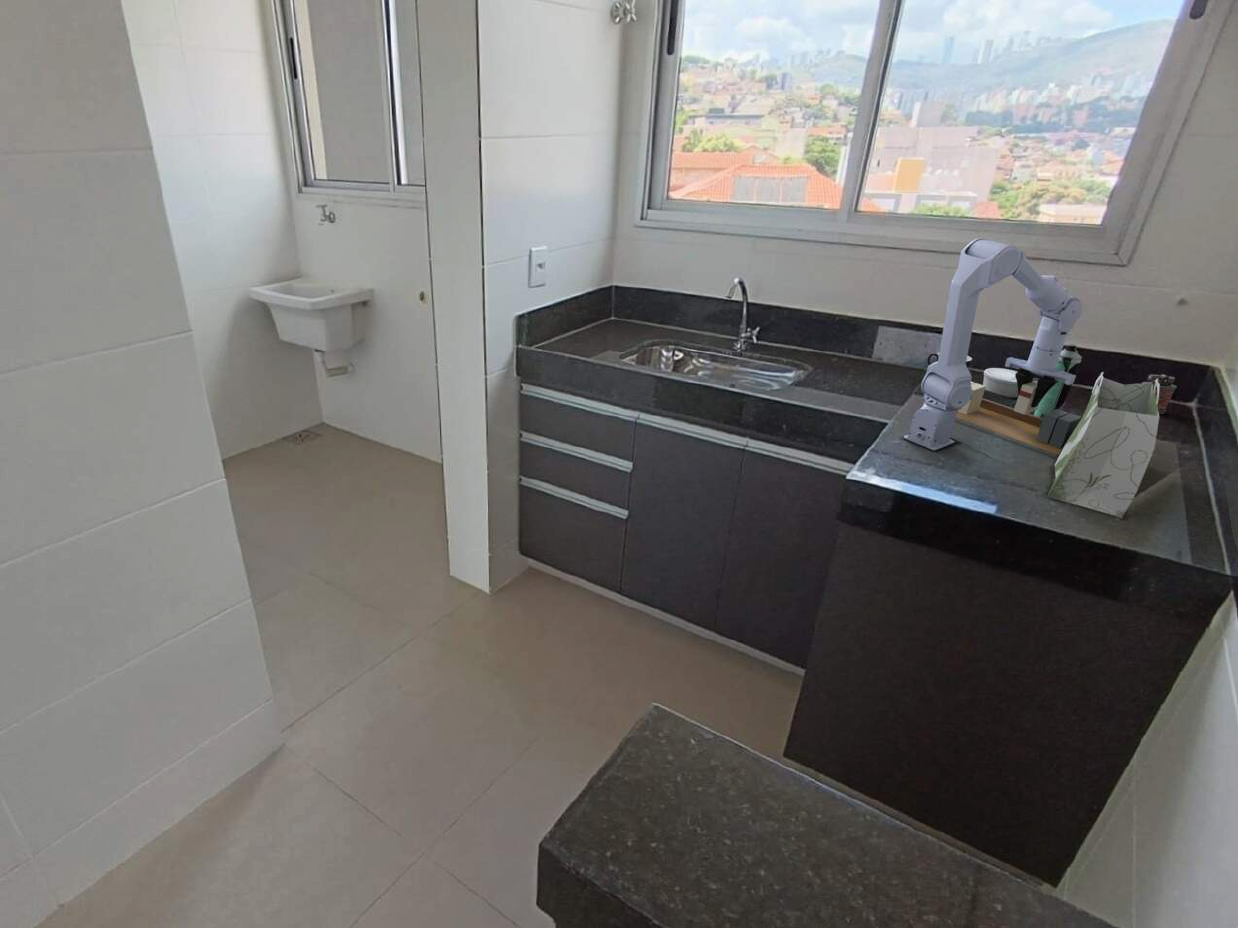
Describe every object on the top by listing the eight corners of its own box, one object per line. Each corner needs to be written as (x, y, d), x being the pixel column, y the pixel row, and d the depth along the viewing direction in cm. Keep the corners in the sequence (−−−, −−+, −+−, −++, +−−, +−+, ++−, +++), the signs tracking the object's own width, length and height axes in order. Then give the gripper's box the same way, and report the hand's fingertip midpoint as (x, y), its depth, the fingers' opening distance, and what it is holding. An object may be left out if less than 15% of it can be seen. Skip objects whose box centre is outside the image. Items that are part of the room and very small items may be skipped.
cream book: (1024, 414, 157) (1033, 388, 154) (1013, 411, 159) (1022, 385, 156) (1036, 409, 160) (1046, 384, 157) (1025, 406, 162) (1034, 380, 159)
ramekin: (1029, 402, 182) (1035, 383, 179) (985, 397, 184) (991, 378, 181) (1016, 388, 192) (1022, 370, 189) (974, 383, 193) (980, 365, 191)
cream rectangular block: (966, 414, 168) (973, 390, 165) (956, 411, 170) (963, 387, 167) (978, 410, 172) (986, 386, 169) (968, 406, 174) (976, 383, 171)
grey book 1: (1047, 443, 155) (1056, 417, 152) (1035, 439, 156) (1044, 413, 154) (1059, 438, 158) (1068, 412, 155) (1047, 434, 160) (1056, 408, 157)
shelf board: (1055, 458, 150) (1060, 446, 149) (928, 411, 172) (931, 400, 171) (1083, 444, 158) (1087, 433, 156) (958, 401, 180) (961, 390, 178)
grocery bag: (1060, 446, 157) (1097, 350, 147) (1131, 464, 150) (1175, 365, 140) (1042, 498, 134) (1085, 388, 123) (1125, 522, 127) (1178, 408, 116)
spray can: (1060, 428, 166) (1089, 349, 157) (1036, 425, 167) (1064, 347, 158) (1052, 419, 171) (1080, 343, 162) (1029, 417, 172) (1056, 340, 163)
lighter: (1159, 409, 181) (1175, 374, 177) (1167, 414, 178) (1183, 378, 174) (1128, 407, 182) (1143, 372, 178) (1135, 412, 179) (1151, 376, 174)
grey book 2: (1060, 448, 153) (1070, 422, 150) (1048, 444, 154) (1058, 418, 151) (1072, 442, 156) (1082, 417, 153) (1060, 438, 158) (1070, 413, 155)
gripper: (1089, 354, 150) (1067, 411, 156) (1023, 337, 160) (1005, 391, 166) (1075, 359, 146) (1053, 417, 152) (1008, 341, 156) (990, 396, 162)
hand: (1027, 404), depth 159 cm, fingers closed on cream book, 2 cm apart
